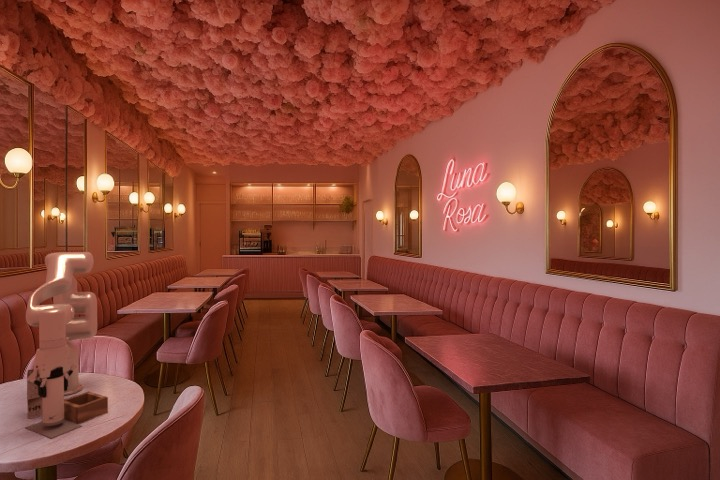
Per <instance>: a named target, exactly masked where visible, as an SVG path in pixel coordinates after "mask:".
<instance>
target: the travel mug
mask: <svg viewBox="0 0 720 480" xmlns="http://www.w3.org/2000/svg"><path fill="white" fill-rule="evenodd" d="M44 386H46V397H45V398H43V397H42V411H43V416H42V421H43V425H44V426H54V425H57V424H60V423H62V422H63V421H64V400H65V396H64V373H63V367H60V368H57V369H56V370H52V371H51V372H50V377H48V378H47V380H46V382H45V385H44Z"/></svg>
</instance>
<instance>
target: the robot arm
mask: <svg viewBox="0 0 720 480" xmlns="http://www.w3.org/2000/svg"><path fill="white" fill-rule="evenodd" d="M94 262H95V261H94V256H93V254H92V253H91V252H90V251H59V252H51V253H48V254H46V256H45V257H44V264H45V267H46V270H47V271H46V276H45V278H46V279H45V283H43V284H42V285H40V286H39V287H38V288H36V289H35V290H34V292H32V293H31V295H30V296H29V298H28V300H27V306H26V309H25V321H26V323H27V324H28V325H29V326H30V327H38V328H39V330H38V331H39V333H38V334H39V336H38V337H39V348H37V349H36V352H35V355H34V360H33V361H34V363H33V369H34V371H33V372H32V374H31V375H30V376H29V377H28V378H27V377H26V381H27V380H29V381H30V382H32V383H34V384H35V385H37V386H38V395H39V396H40V397H43V398H45V397H46V386H44V385H45V382H46V380H47V378H48V377H50V372H51V371H52V370H56V369H57V368H60V367H63V373H64V397H66V396H69V395H73V394H76V393H78V392H80V391H82V389H84V385H83V384H81V382H79V378H80V377H79V348H78V346H77V344H75V343H74V342H73V341H75V340H84V339H85V340H86V339H91V338H94V337H95V336H96V335H97V334H98V299H97V296H96V293H94V292H92V291H78V280H77V278H75V276H74V275H73V274H86V273H87V274H89V273H90V272H91V271H92V269H93V267H94ZM51 298H53V299H52V300H53V301H52V302H53V303H52V304H41V303H43V302H44V301H46V300H48V299H51ZM75 315H85V316H78V317H77V316H75ZM35 377H39V378H38V380H36V379H35Z"/></svg>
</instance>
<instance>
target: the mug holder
mask: <svg viewBox="0 0 720 480" xmlns="http://www.w3.org/2000/svg"><path fill="white" fill-rule="evenodd" d="M107 413H109V397H108V396H105V395H102V394H98V393H96V392H92V391H85V392H83V393H80V394H77V395H74V396H71V397H68V398H64V419H65V420H68V421H71V422H73V423H76V424H79V425H81V424H83V423H85V422H87V421H90V420H93V419H94V418H95V419H96V418H98V417H100V416H103V415H105V414H107Z"/></svg>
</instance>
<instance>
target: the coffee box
mask: <svg viewBox="0 0 720 480" xmlns="http://www.w3.org/2000/svg"><path fill="white" fill-rule="evenodd" d="M33 371H34V368H33V369H27V374H26V387H27V388H26V389H27V390H26V392H27V393H26V396H27V397H26V398H27V401H26V402H27V404H26V405H27V419H33V418H39V417H43V411H42V397H40V396H39V395H38V386H37V385H35V384H34V383H32V382H30V381H29V380H27V378H28V377H29V376H30V375H31V374H32V372H33ZM38 378H39V377H35V379H36V380H38Z"/></svg>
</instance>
